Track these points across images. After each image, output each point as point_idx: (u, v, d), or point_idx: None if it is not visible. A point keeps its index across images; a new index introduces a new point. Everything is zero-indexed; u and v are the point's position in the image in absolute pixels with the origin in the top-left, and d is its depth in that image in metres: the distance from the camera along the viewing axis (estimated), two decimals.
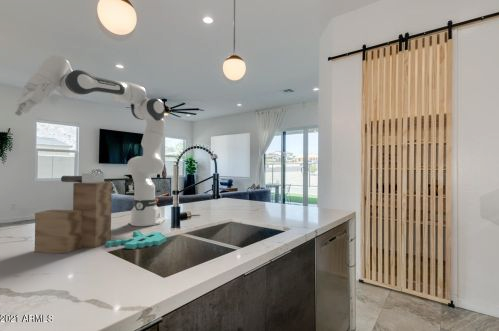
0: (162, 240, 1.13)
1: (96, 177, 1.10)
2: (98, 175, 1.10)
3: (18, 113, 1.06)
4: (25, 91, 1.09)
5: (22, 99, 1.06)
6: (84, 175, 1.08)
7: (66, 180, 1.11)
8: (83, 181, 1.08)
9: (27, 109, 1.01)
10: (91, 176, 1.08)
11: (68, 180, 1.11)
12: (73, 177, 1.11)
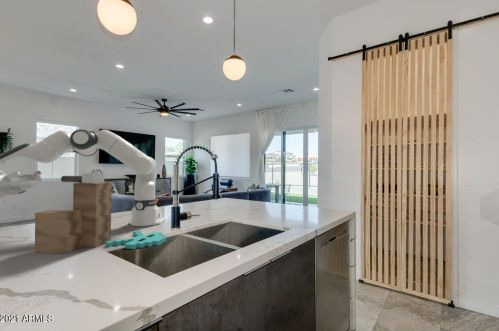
0: (162, 240, 1.13)
1: (96, 177, 1.10)
2: (98, 175, 1.10)
3: (37, 173, 1.18)
4: (25, 187, 1.21)
5: (26, 182, 1.17)
6: (84, 175, 1.08)
7: (66, 180, 1.11)
8: (83, 181, 1.08)
9: (15, 173, 1.09)
10: (91, 176, 1.08)
11: (68, 180, 1.11)
12: (73, 177, 1.11)
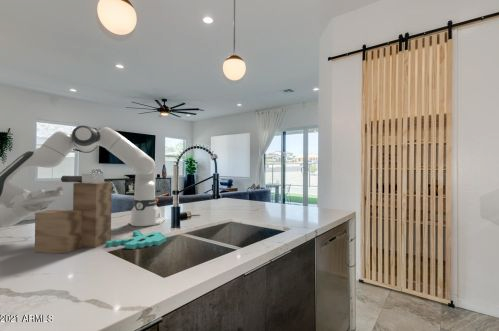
0: (162, 240, 1.13)
1: (96, 177, 1.10)
2: (98, 175, 1.10)
3: (59, 189, 1.17)
4: (47, 203, 1.20)
5: (49, 198, 1.16)
6: (84, 175, 1.08)
7: (66, 180, 1.11)
8: (83, 181, 1.08)
9: (39, 191, 1.08)
10: (91, 176, 1.08)
11: (68, 180, 1.11)
12: (73, 177, 1.11)
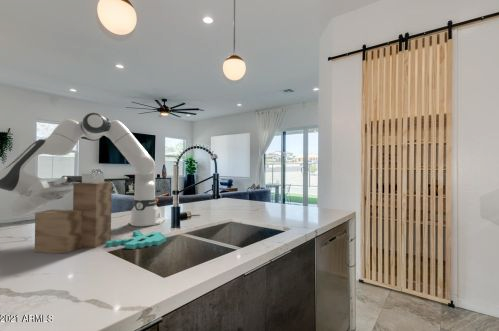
0: (162, 240, 1.13)
1: (96, 177, 1.10)
2: (98, 175, 1.10)
3: None
4: (63, 193, 1.19)
5: (65, 188, 1.16)
6: (84, 175, 1.08)
7: None
8: (83, 181, 1.08)
9: (62, 179, 1.10)
10: (91, 176, 1.08)
11: (68, 180, 1.11)
12: (73, 177, 1.11)
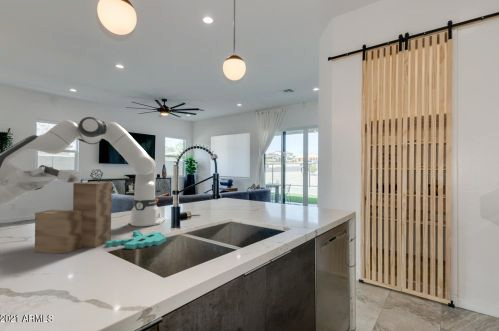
0: (162, 240, 1.13)
1: (73, 176, 1.10)
2: (75, 174, 1.11)
3: None
4: (42, 183, 1.19)
5: (44, 178, 1.16)
6: (61, 172, 1.08)
7: None
8: (58, 177, 1.08)
9: (39, 169, 1.10)
10: (67, 174, 1.08)
11: (45, 171, 1.11)
12: (51, 170, 1.11)
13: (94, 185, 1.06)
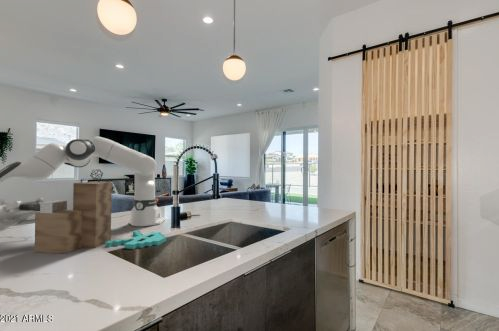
0: (162, 240, 1.13)
1: (57, 205, 1.01)
2: (58, 203, 1.02)
3: (39, 200, 1.08)
4: (26, 215, 1.10)
5: None
6: (42, 204, 0.99)
7: (24, 209, 1.02)
8: (41, 211, 0.99)
9: (15, 203, 0.98)
10: (49, 205, 0.99)
11: (26, 209, 1.02)
12: (32, 206, 1.02)
13: (94, 185, 1.06)
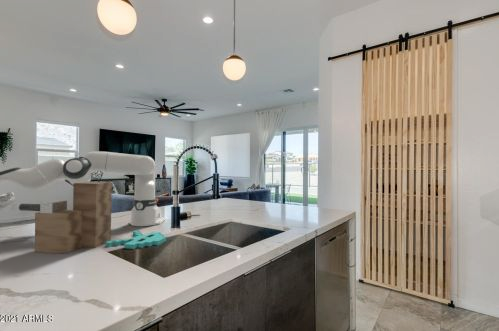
0: (162, 240, 1.13)
1: (57, 205, 1.01)
2: (58, 203, 1.02)
3: (9, 194, 1.08)
4: None
5: None
6: (42, 204, 0.99)
7: (24, 209, 1.02)
8: (41, 211, 0.99)
9: None
10: (49, 205, 0.99)
11: (26, 209, 1.02)
12: (32, 206, 1.02)
13: (94, 185, 1.06)
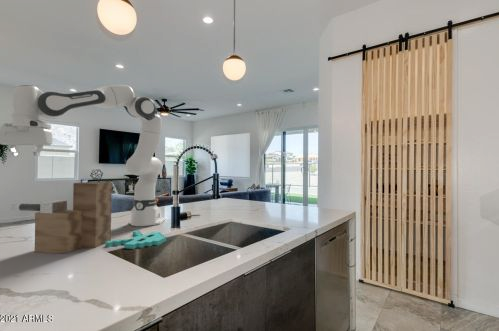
0: (162, 240, 1.13)
1: (57, 205, 1.01)
2: (58, 203, 1.02)
3: None
4: None
5: None
6: (42, 204, 0.99)
7: (24, 209, 1.02)
8: (41, 211, 0.99)
9: None
10: (49, 205, 0.99)
11: (26, 209, 1.02)
12: (32, 206, 1.02)
13: (94, 185, 1.06)
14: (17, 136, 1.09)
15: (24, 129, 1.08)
